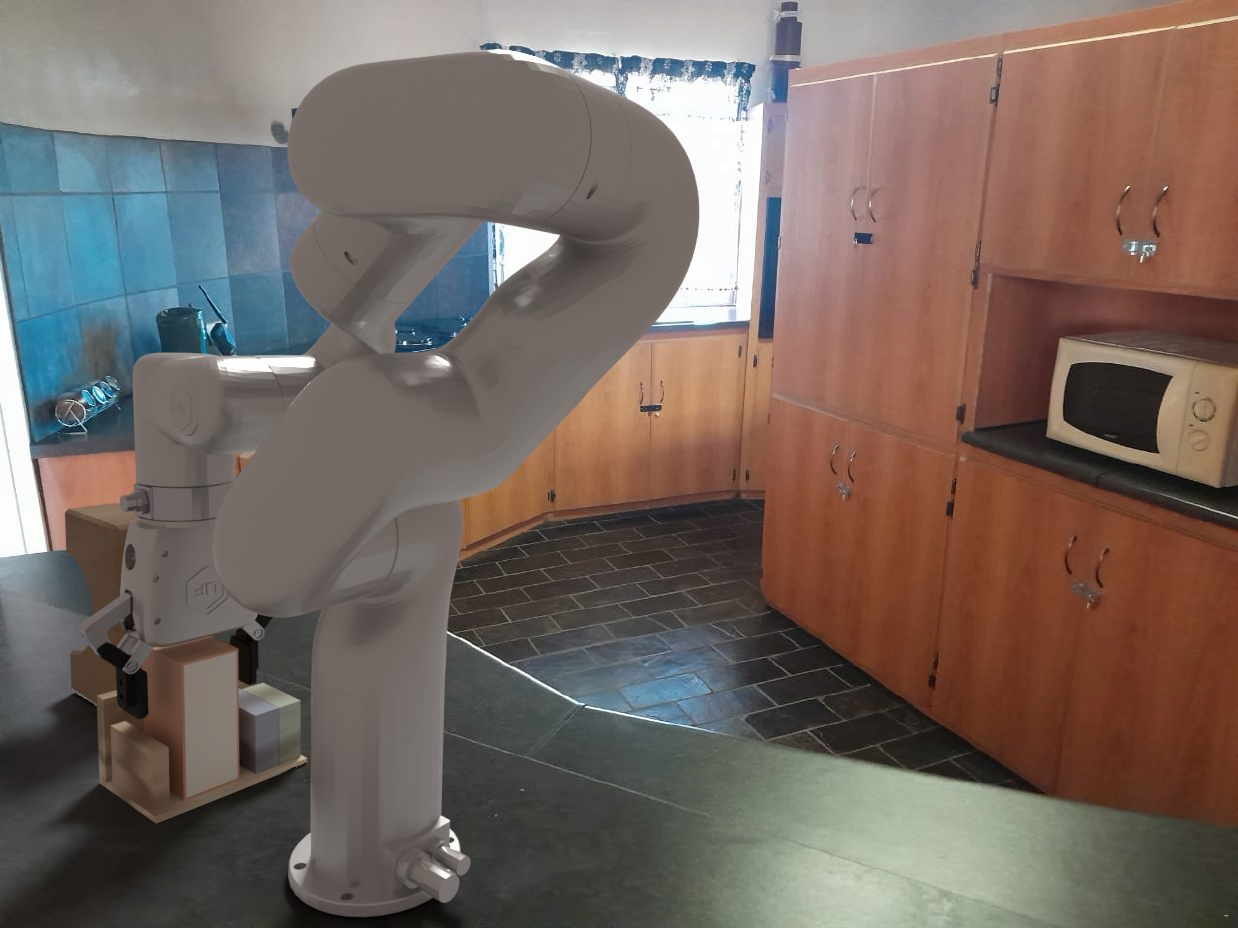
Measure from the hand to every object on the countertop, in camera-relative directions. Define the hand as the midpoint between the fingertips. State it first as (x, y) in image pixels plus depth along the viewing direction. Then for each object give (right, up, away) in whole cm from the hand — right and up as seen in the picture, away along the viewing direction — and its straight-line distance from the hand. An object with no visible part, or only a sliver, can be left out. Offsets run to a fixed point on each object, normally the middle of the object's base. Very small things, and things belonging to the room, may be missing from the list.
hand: (191, 696), depth 80 cm
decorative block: (-15, -5, +17) cm, 23 cm away
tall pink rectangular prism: (-1, -7, +1) cm, 8 cm away
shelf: (+1, -8, +3) cm, 8 cm away
